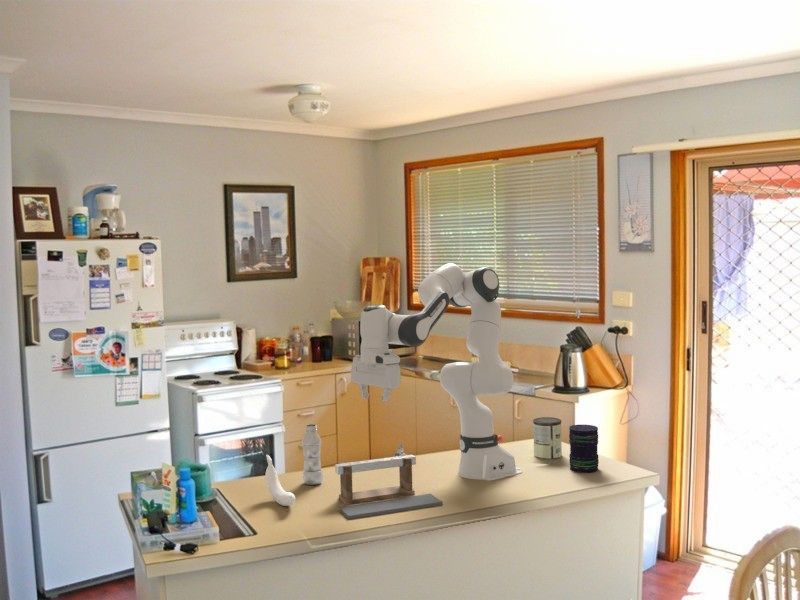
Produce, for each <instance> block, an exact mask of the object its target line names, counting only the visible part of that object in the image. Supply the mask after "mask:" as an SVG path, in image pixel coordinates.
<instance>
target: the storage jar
mask: <svg viewBox="0 0 800 600" xmlns="http://www.w3.org/2000/svg"><path fill="white" fill-rule="evenodd" d="M568 429H569V434H568V439H569V441H568V442H569V449H570V450H569V455H568V456H569V459H568V460H569V470H570V471H571V472H574V473H580V474H592V473H596V472H598V471H599V454H598V444H599V427H598V426H596V425H592V424H573V425H570V426H569V428H568Z"/></svg>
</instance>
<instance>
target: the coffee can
mask: <svg viewBox="0 0 800 600" xmlns="http://www.w3.org/2000/svg"><path fill="white" fill-rule="evenodd" d="M532 423H533V456H534V458H537V459H540V460H541V459H542V460H549V461H550V460H557V459H561V458H562V457H563V455H562V454H563V453H562V451H563V450H562V419H560V418H558V417H554V416H553V417H549V416H543V417H535V418H533V420H532Z"/></svg>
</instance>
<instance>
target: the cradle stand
mask: <svg viewBox="0 0 800 600" xmlns="http://www.w3.org/2000/svg"><path fill="white" fill-rule="evenodd" d="M405 454H406V453H405ZM405 454H402V455H399V456H405ZM341 463H348V462H347V461H341V462H339V464H341ZM398 468H399V471H398V472H399V485H396V486H389V487H383V488H382V487H381V488H375V489H368V490H362V491H354V492H353V473H352V466H351V465H349V466H345V474H339V475H340V477H339V478H340V479H339V480H340V493H339V494H338V499H339V501H341V502H342V503H343V504H345V505H353V504H360V503H364V502H365V503H367V502H374V501H380V500H384V499H385V498H387V499H393V498H401V497H405V496H406V497H408V496H414V495H415V493H416V492H415V489H413V465H412V458H405V466H400V467H398ZM392 497H393V498H392ZM379 499H380V500H379ZM385 500H386V499H385Z"/></svg>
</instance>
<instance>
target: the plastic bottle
mask: <svg viewBox="0 0 800 600" xmlns="http://www.w3.org/2000/svg"><path fill="white" fill-rule="evenodd" d="M304 431H305V434H304V435H303V436H302V439H301V447H302V451H303V472H302V481H303V483H304V484H305V485H308V486H316V485H320V484H322V482H323V479H324V477H323V476H324V475H323V470H322V464H321V448H322V439H321V436H320V435H319V434H318V432H317V431H318V427H317V424H313V423H310V424H306V425H305V430H304Z"/></svg>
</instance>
